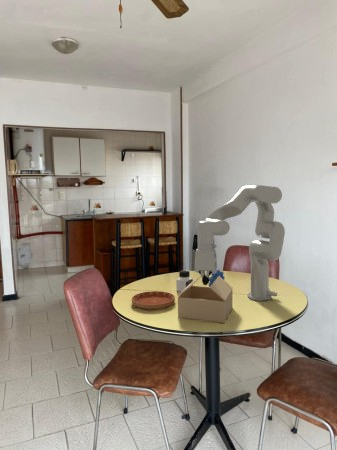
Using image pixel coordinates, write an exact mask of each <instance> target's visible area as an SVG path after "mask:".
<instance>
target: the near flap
mask: <svg viewBox="0 0 337 450" xmlns="http://www.w3.org/2000/svg"><path fill="white" fill-rule="evenodd" d="M210 288H211V289H212V290H213V291H214V292H215V293H216V294H217V295H219V296H220V297H221V298H222V299H223V300H224V301H225V300H226V298H227V297H228V295H229V294H230V292H231V290H232V291H233V289H234V287H232V286H231V285H230V283H228V282H227V281H226V279H224V280H223V279H222V278H221V277H220V276H218V278H217V279H216V280H215V281H214V282H213V284H212V285H211V286H210Z"/></svg>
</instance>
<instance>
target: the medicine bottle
mask: <svg viewBox="0 0 337 450" xmlns="http://www.w3.org/2000/svg"><path fill="white" fill-rule="evenodd" d="M178 276H179V278H176V279H175V281H176V282H175V283H176V284H175V285H176V292H180V293H181V292H182V291H183V290H184V289H185V288H186V287H187V286H188V285H189V284H190V283H192V282H193V281H194V279H193V277H190V270H187V269H182V270H179V275H178ZM192 286H194V284H193V285H192Z"/></svg>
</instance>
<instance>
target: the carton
mask: <svg viewBox="0 0 337 450" xmlns="http://www.w3.org/2000/svg"><path fill="white" fill-rule="evenodd" d="M232 310H233V289H232V290H231V292H230V294H229V295H228V297H227V298H226V300H225V301H224V300H223V299H222V298H221V297H220V296H219V295H217V294H216V293H215V292H214V291H213V290H212V289H211V288H210V287H209V286H204V285H203V286H202V285H193V286H191V287H190V288H188V289H187V290H186V291H184V292H183V293H182V294H181V295H179V296H177V318H178V319H183V320H184V319H185V320H194V321H199V322H200V321H203V322H209V323H215V324H216V323H218V324H225V323H226V321H227V320H228V318H229V316H230V314H231V312H232Z"/></svg>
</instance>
